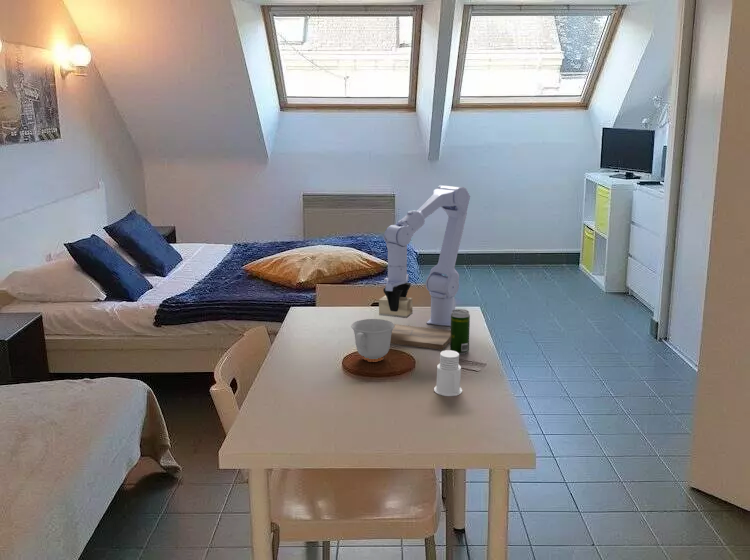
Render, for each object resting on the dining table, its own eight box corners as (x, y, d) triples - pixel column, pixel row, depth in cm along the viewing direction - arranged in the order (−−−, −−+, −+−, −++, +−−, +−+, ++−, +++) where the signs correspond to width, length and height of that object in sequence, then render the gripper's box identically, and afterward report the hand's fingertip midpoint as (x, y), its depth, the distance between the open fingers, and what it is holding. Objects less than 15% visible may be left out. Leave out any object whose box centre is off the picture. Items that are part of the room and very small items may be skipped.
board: (394, 328, 230) (394, 324, 229) (455, 335, 223) (455, 330, 222) (378, 341, 217) (378, 337, 217) (442, 349, 210) (442, 344, 210)
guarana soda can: (472, 352, 208) (474, 311, 205) (459, 356, 205) (460, 315, 202) (459, 347, 212) (460, 307, 209) (446, 351, 209) (446, 311, 206)
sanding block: (385, 310, 226) (385, 295, 225) (412, 313, 223) (412, 298, 222) (379, 315, 222) (378, 299, 221) (406, 318, 218) (406, 302, 217)
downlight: (427, 387, 182) (429, 350, 180) (451, 382, 185) (453, 346, 183) (443, 400, 176) (445, 361, 173) (468, 395, 178) (470, 357, 176)
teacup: (338, 365, 198) (337, 330, 195) (364, 349, 210) (364, 316, 208) (377, 373, 192) (377, 337, 190) (401, 356, 205) (402, 322, 203)
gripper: (393, 259, 226) (393, 301, 230) (375, 269, 213) (376, 313, 217) (414, 261, 224) (414, 303, 227) (398, 271, 211) (398, 315, 214)
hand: (397, 308), depth 222 cm, fingers closed on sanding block, 5 cm apart
